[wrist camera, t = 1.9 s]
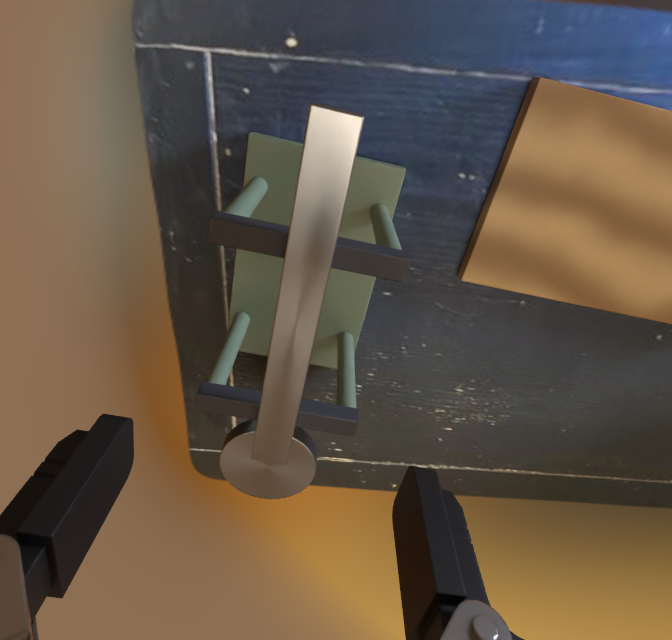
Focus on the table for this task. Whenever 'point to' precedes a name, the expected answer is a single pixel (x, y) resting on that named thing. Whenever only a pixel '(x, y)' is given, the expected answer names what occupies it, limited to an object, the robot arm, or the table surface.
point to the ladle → (297, 314)
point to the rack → (266, 269)
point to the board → (581, 204)
